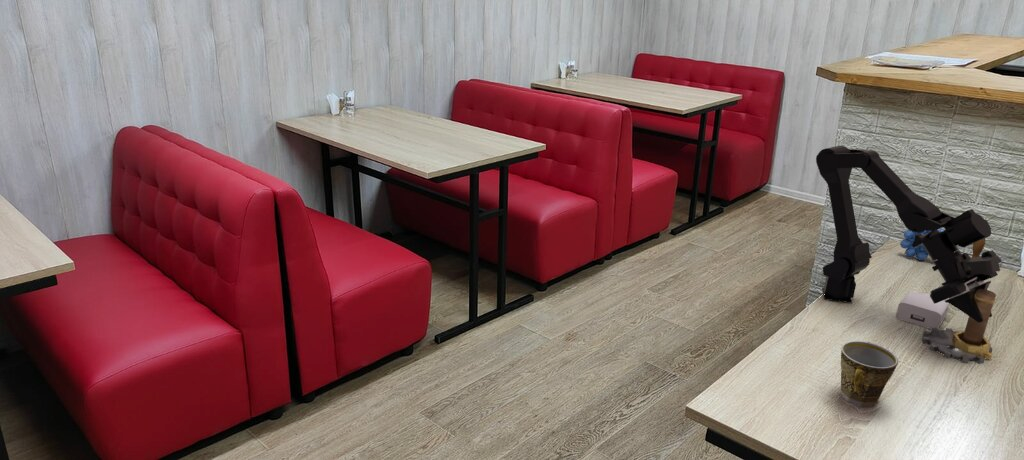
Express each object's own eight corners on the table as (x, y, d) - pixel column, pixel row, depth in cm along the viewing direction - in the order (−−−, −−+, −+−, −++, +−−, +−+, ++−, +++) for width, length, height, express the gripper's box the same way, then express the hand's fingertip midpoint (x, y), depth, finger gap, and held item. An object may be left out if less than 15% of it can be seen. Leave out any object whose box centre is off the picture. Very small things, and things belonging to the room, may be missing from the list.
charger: (950, 309, 179) (937, 331, 168) (910, 298, 184) (895, 318, 174) (955, 292, 177) (942, 313, 166) (914, 282, 183) (899, 301, 172)
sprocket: (929, 357, 157) (933, 344, 155) (915, 328, 169) (918, 316, 168) (1000, 368, 153) (1004, 355, 152) (980, 337, 165) (984, 325, 164)
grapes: (944, 260, 208) (954, 222, 203) (940, 268, 203) (950, 229, 198) (900, 250, 214) (909, 213, 210) (895, 257, 209) (905, 219, 205)
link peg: (968, 347, 157) (984, 296, 152) (957, 338, 160) (972, 289, 156) (984, 347, 157) (1000, 296, 152) (973, 338, 160) (988, 288, 156)
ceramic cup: (840, 377, 148) (850, 335, 144) (892, 396, 142) (903, 353, 139) (820, 405, 139) (830, 361, 135) (875, 426, 133) (887, 381, 129)
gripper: (959, 249, 148) (1002, 318, 144) (999, 232, 158) (1040, 296, 154) (912, 270, 157) (951, 335, 152) (953, 252, 167) (991, 313, 163)
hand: (985, 319), depth 155 cm, fingers closed on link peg, 4 cm apart
